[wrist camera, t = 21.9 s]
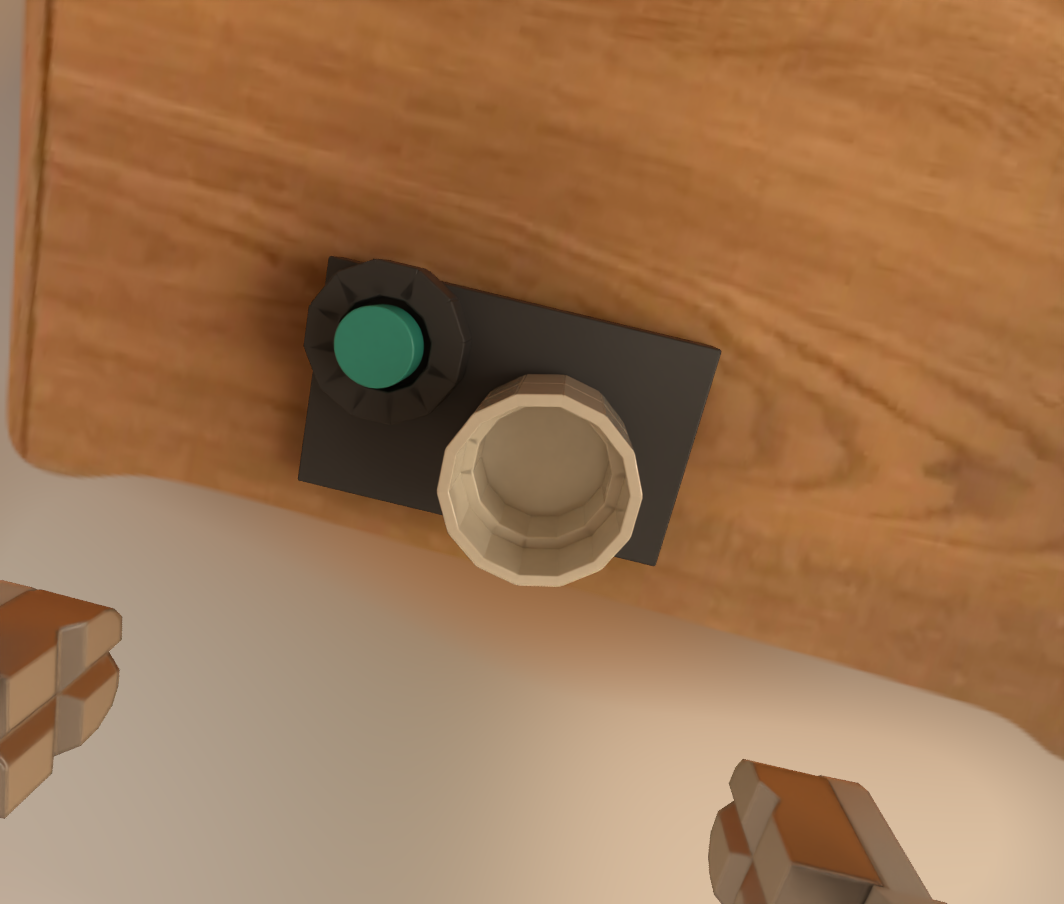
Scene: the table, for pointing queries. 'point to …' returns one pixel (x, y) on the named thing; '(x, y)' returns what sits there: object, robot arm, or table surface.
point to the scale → (489, 388)
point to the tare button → (378, 345)
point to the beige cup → (541, 482)
